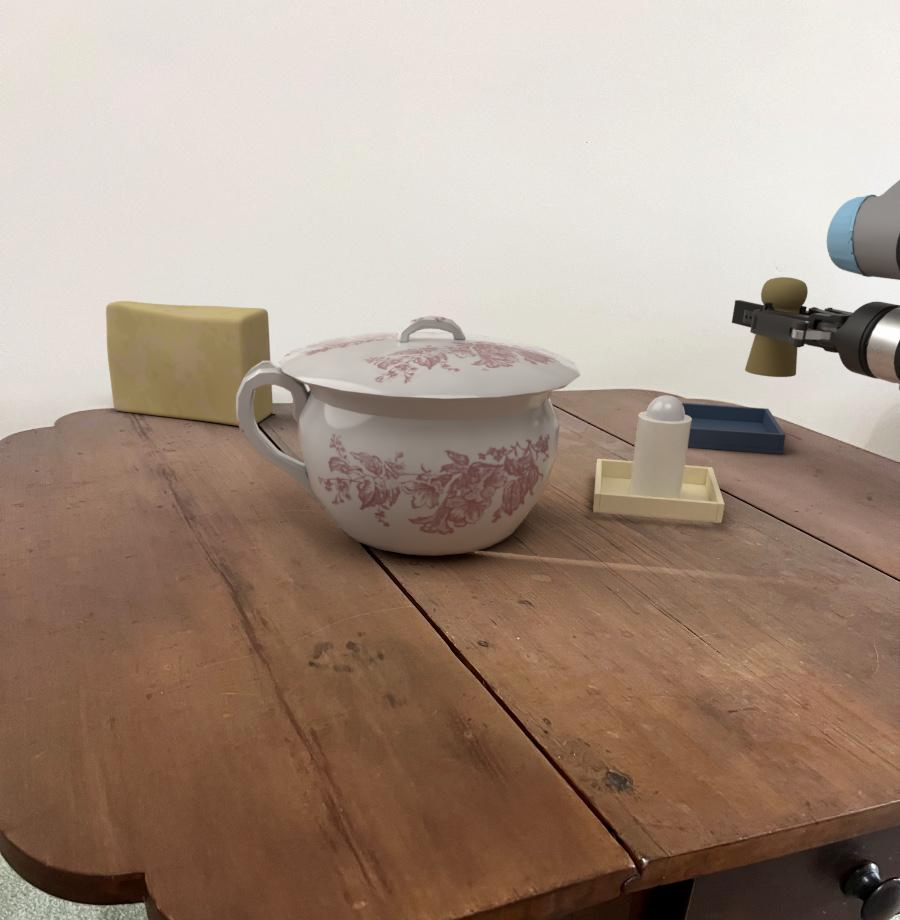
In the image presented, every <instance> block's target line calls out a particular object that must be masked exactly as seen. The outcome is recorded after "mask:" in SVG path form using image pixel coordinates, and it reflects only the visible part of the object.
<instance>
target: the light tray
mask: <svg viewBox="0 0 900 920" xmlns="http://www.w3.org/2000/svg"><path fill="white" fill-rule="evenodd" d="M632 464H633V460H621V459H608V458H597V459H596V465H595V476H594V488H593V489H594V491H593V505H592V506H593V507H592V513H599V514H611V515H623V516H634V517H647V518H656V519H657V518H659V519H671V520H682V521H684V520H685V521H695V522H705V523H716V524H719V523H720V524H722V522H723V519H724V518H723V517H724V512H725V505H726V504H725V501H724V498H723V495H722V492H721V489H720V487H719V483H718V480H717V477H716V474H715V471H714V467H712V466H701V465H700V466H698V465H688V464H685V471H684V477H683V484H682V491H681V498H680V499H676V498H663V497H651V496H639V495H629V489H630V480H631V472H632Z"/></svg>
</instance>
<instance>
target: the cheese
mask: <svg viewBox="0 0 900 920" xmlns="http://www.w3.org/2000/svg"><path fill="white" fill-rule="evenodd" d="M105 316H106V317H105V319H106V320H105V323H106V324H105V325H106V326H105V327H106V351H107V352H106V353H107V361H108V362H107V363H108V371H109V378H110V379H109V380H110V389H111V395H112V403H113V408H114V410H115V411H118V412H121V413H122V412H123V413H130V414H131V413H133V414H140V415H148V416H158V417H165V418H175V419H185V420H192V421H200V422H209V423H216V424H222V425H230V426H236V427H239V425H238V421H237V418H236V394H237V392H238V389H239V387H240V385H241V383H242V381H243V378H244V376H245V375H246V374H247V373H248V371H249V370H250V369H251V368H252V367H254V366H256V365H257V364H259V363H260V362H262V361H271V345H270V324H269V313H268V310H267V309H266V308H261V307H260V308H259V307H236V306H219V305H184V304H182V305H181V304H180V305H179V304H163V303H152V302H151V303H150V302H141V301H140V302H139V301H132V300H131V301H130V300H120V301H118V300H117V301H113V302H109V303H108V304H107V305H106V307H105ZM273 403H274V402H273V385H267V386H262V387H259V388H257V389H255V394H254V406H253V413H254V416H255V419H256V422H257V424H259V423H260V422H262V421H264V420H265V419H266V418H268V417H270V416H271V414H272V413H273V410H274V405H273Z"/></svg>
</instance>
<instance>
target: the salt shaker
mask: <svg viewBox="0 0 900 920" xmlns="http://www.w3.org/2000/svg"><path fill="white" fill-rule="evenodd" d="M682 403H683V402H681V400H679V399H678V398H677V397H675V396H673V395H666V394H665V395H660V396H658V397H655V398H654V399H653V400H652V401H651V402H650V403H649V404H648V407H647V408H646V410H645V411H641V412H639V413H638V415H637V421H636V422H637V424H636V431H635V438H634V439H635V440H634V449H633V455H632V457H633V458H632V461H633V464H632V472H631V480H630V489H629V495H639V496H651V497H663V498H676V499H680V498H681V491H682V484H683V477H684V471H685V465H687V456H688V450H689V447H688V443H689V436H690V430H691V423H692V418H691V417H690V416H688V415H685V411H684V407H683V405H682Z"/></svg>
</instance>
